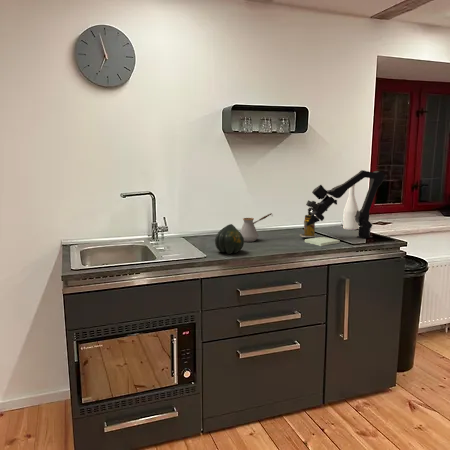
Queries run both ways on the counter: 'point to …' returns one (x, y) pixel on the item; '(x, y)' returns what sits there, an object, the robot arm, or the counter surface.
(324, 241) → the board
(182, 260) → the counter surface
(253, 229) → the coffee pot
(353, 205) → the wine bottle
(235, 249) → the squash
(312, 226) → the condiment
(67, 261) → the counter surface
